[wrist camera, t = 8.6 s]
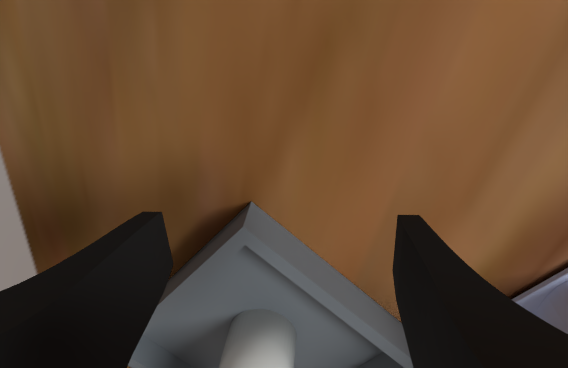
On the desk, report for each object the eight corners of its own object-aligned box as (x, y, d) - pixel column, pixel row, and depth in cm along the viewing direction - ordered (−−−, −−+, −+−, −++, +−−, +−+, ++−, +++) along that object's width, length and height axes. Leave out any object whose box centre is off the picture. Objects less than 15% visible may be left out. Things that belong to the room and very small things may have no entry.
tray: (416, 335, 27) (424, 369, 25) (273, 419, 33) (269, 452, 31) (251, 201, 23) (242, 226, 21) (123, 322, 29) (106, 352, 27)
